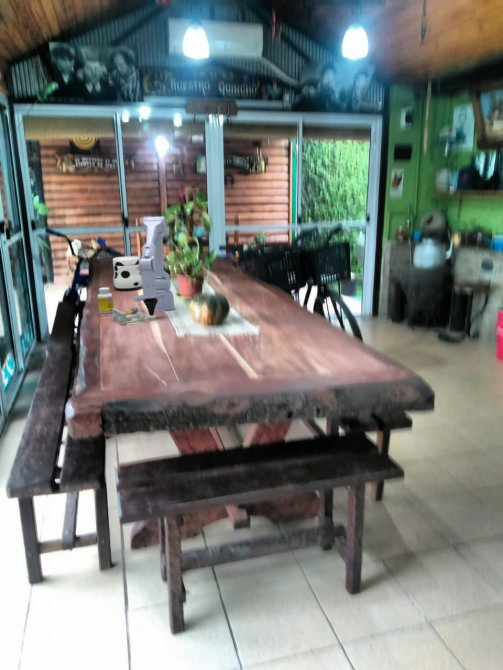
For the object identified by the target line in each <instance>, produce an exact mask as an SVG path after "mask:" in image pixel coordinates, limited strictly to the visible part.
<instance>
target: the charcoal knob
mask: <svg viewBox="0 0 503 670" xmlns="http://www.w3.org/2000/svg"><path fill="white" fill-rule="evenodd" d="M130 310H131V315H133V314H137V312H138V311H139V309H138V307H133V308H130ZM122 312H123V313H125V311H122ZM125 314H126V313H125ZM113 317H116V313H113V315H112V318H113Z"/></svg>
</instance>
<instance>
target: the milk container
mask: <svg viewBox="0 0 503 670" xmlns="http://www.w3.org/2000/svg"><path fill="white" fill-rule="evenodd" d="M140 257H141V256H137V255H136V256H131V255H130V256H129V255H126V256H118V257H116V256H115V257H113V258H112V265H113V266H112V268H113V278H112V283H113V286H114V288H115V289H117V290H121V291H122V290H123V291H128V290H129V291H130V290H136V289H141V288H143V286H142V275H141V274H140V269H139V260H140V259H141V258H140Z"/></svg>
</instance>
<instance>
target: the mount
mask: <svg viewBox="0 0 503 670" xmlns="http://www.w3.org/2000/svg"><path fill="white" fill-rule="evenodd" d="M123 312H124V311H121V310H120V309H118V308H116V307H113V308H112V315H111V316H112V320H114V322H117V323H119V324H120V325H121V326H128V325H133V324H140V323H145V322H151V321H156V319H155V318H153V317H152V316H150V315H147V314H145V319H140V320H139V319H138V318H134V319H132V320H131V321H126V314H125V313H123ZM113 313H116V317H113ZM120 316H122V321H119V317H120Z"/></svg>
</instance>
